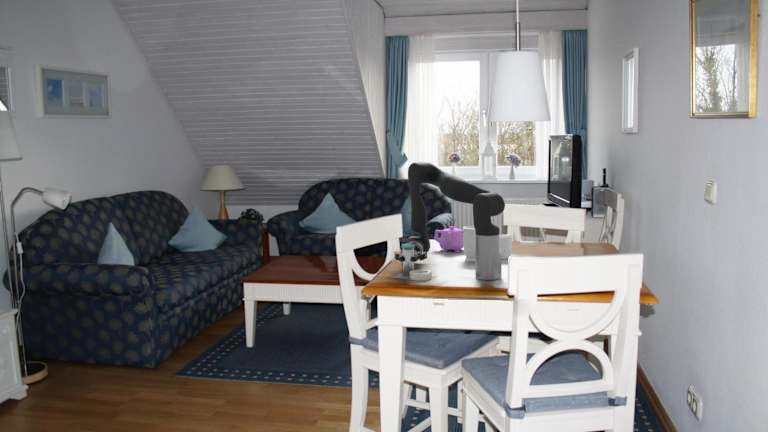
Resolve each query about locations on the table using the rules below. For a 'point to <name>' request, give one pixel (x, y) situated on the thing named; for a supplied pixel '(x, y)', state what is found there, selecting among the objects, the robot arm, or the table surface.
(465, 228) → the jar
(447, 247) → the pot
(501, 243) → the white cup
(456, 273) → the table surface
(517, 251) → the table surface
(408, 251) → the teal capped bottle
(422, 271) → the dock
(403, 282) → the table surface
